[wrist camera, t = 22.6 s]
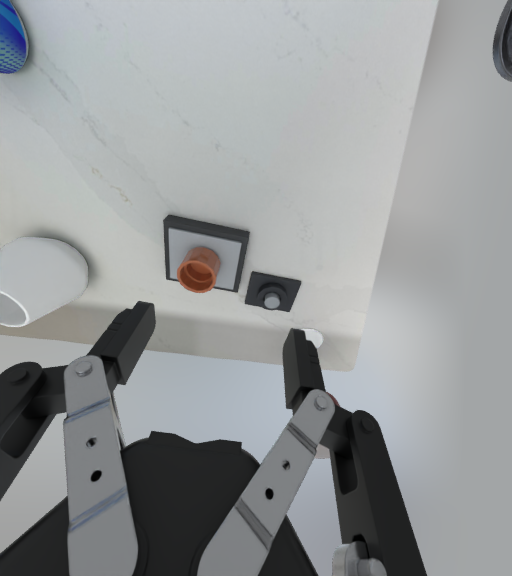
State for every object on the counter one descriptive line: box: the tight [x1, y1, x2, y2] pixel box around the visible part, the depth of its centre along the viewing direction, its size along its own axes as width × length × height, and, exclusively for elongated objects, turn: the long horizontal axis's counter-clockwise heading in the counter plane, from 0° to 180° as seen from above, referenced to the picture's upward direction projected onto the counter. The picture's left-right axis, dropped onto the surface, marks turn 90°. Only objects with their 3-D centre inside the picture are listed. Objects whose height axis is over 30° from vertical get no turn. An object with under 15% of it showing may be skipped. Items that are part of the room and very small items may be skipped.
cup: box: [0, 237, 88, 327], centre depth 39 cm, size 13×13×14 cm
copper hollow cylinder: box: [177, 247, 221, 293], centre depth 38 cm, size 6×6×5 cm
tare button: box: [264, 292, 280, 309], centre depth 45 cm, size 3×3×2 cm
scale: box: [163, 215, 250, 293], centre depth 41 cm, size 14×12×3 cm
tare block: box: [245, 272, 301, 312], centre depth 46 cm, size 10×8×2 cm
